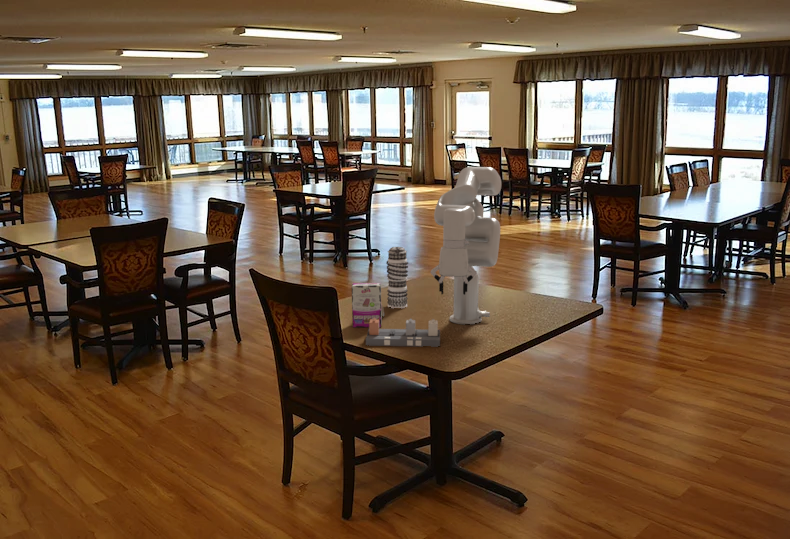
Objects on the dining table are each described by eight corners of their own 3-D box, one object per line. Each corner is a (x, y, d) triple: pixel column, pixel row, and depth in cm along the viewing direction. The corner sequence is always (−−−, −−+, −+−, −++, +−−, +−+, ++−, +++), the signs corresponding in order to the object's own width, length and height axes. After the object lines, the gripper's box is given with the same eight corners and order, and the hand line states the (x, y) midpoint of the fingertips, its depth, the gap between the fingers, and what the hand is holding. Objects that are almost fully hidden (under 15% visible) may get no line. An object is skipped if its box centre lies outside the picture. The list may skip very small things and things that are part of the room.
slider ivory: (437, 332, 261) (437, 318, 260) (437, 335, 257) (437, 322, 256) (428, 332, 261) (428, 318, 260) (428, 335, 258) (428, 321, 256)
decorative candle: (395, 310, 300) (395, 250, 295) (382, 305, 308) (381, 247, 302) (412, 306, 306) (412, 248, 301) (398, 302, 313) (398, 245, 308)
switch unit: (439, 336, 266) (440, 327, 265) (439, 346, 254) (440, 337, 253) (369, 335, 267) (369, 326, 267) (365, 345, 255) (365, 336, 255)
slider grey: (415, 332, 262) (415, 318, 261) (414, 335, 258) (414, 321, 257) (406, 332, 262) (406, 318, 261) (405, 335, 258) (405, 321, 257)
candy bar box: (381, 323, 282) (381, 282, 278) (381, 327, 277) (381, 285, 273) (352, 323, 282) (352, 282, 278) (352, 327, 277) (351, 285, 273)
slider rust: (379, 331, 263) (379, 317, 261) (378, 334, 259) (378, 321, 258) (370, 331, 263) (370, 317, 262) (369, 334, 259) (369, 320, 258)
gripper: (478, 242, 255) (477, 291, 259) (429, 241, 256) (428, 290, 260) (479, 246, 248) (478, 296, 252) (428, 245, 249) (428, 296, 253)
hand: (453, 293), depth 256 cm, fingers open, 7 cm apart
